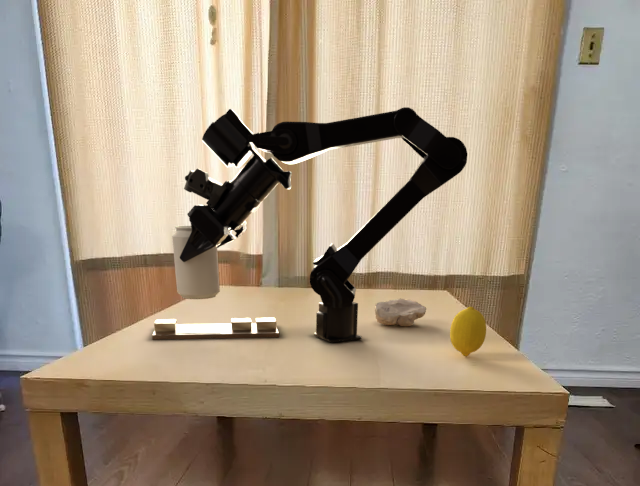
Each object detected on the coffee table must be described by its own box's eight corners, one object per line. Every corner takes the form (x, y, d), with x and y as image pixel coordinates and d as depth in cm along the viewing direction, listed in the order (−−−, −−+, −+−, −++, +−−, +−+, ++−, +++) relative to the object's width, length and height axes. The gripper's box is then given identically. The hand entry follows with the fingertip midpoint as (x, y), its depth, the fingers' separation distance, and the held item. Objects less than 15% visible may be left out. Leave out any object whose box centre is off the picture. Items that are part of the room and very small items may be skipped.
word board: (274, 326, 111) (274, 314, 110) (279, 337, 103) (278, 324, 102) (157, 328, 108) (156, 316, 107) (152, 339, 100) (151, 326, 99)
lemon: (490, 358, 91) (496, 308, 89) (464, 362, 89) (470, 310, 86) (466, 350, 96) (471, 302, 93) (440, 354, 93) (445, 304, 90)
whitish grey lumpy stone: (434, 312, 112) (392, 293, 108) (418, 342, 114) (376, 324, 110) (416, 300, 120) (376, 282, 116) (402, 329, 122) (362, 312, 118)
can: (169, 296, 103) (163, 225, 98) (206, 292, 107) (201, 224, 103) (190, 301, 98) (184, 226, 93) (228, 297, 102) (224, 225, 98)
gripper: (225, 155, 102) (170, 221, 107) (196, 146, 85) (132, 225, 90) (271, 203, 105) (215, 265, 109) (251, 204, 87) (185, 277, 92)
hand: (188, 257), depth 100 cm, fingers closed on can, 7 cm apart
